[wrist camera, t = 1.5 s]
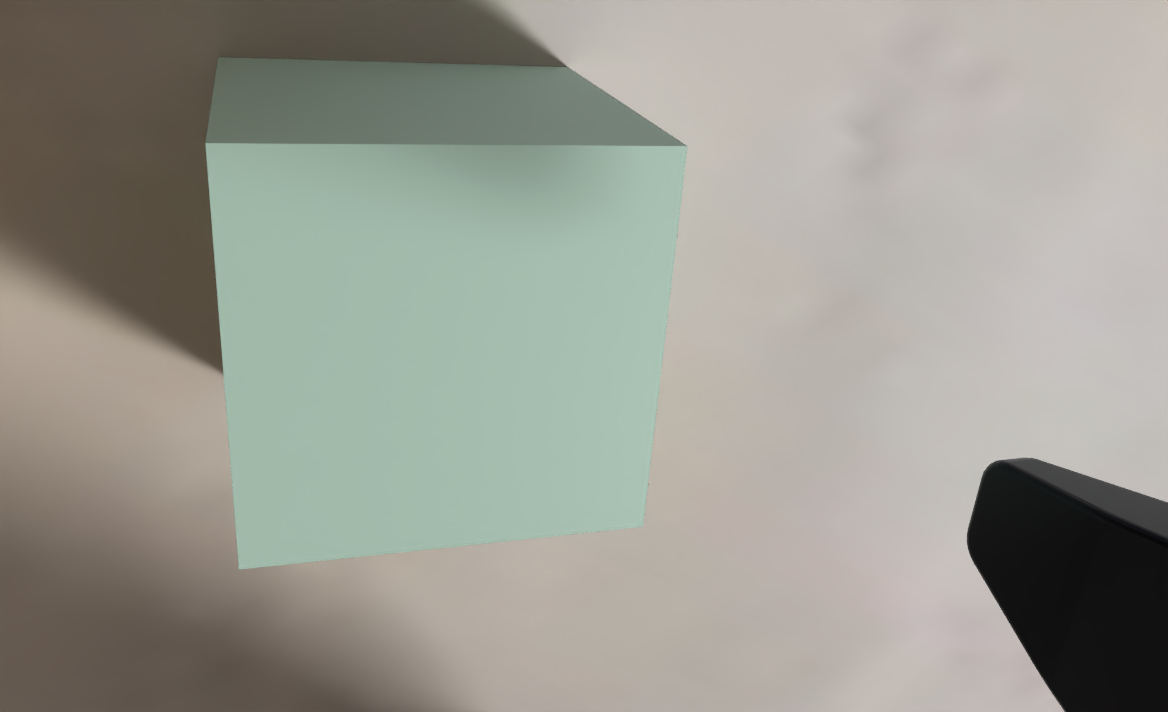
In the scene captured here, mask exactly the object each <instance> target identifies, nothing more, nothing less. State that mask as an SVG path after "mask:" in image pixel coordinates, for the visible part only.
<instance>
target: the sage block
mask: <svg viewBox="0 0 1168 712" xmlns="http://www.w3.org/2000/svg"><path fill="white" fill-rule="evenodd" d="M205 145H206V158H207V171H208V184H209V196H210V209H211V222H212V234H213V247H214V260H215V273H216V285H217V298H218V311H219V324H220V336H221V349H222V362H223V375H224V387H225V400H226V413H227V426H228V438H229V451H230V464H231V476H232V489H233V502H234V515H235V527H236V540H237V553H238V566H239V569H249V568H258V567H268V566H277V565H287V564H296V563H305V562H315V561H324V560H334V559H343V558H353V557H362V556H372V555H381V554H390V553H400V552H409V551H419V550H428V549H438V548H447V547H457V546H466V545H475V544H485V543H494V542H504V541H513V540H523V539H532V538H541V537H551V536H560V535H570V534H579V533H589V532H598V531H608V530H617V529H626V528H636V527H643V522H644V513H645V505H646V496H647V488H648V479H649V471H650V462H651V453H652V445H653V436H654V428H655V419H656V411H657V402H658V394H659V385H660V376H661V368H662V359H663V351H664V342H665V334H666V325H667V317H668V308H669V299H670V291H671V282H672V274H673V265H674V257H675V248H676V240H677V231H678V222H679V214H680V205H681V197H682V188H683V180H684V171H685V162H686V154H687V146H686V145H685V144H683V143H682V142H680V141H679V140H677V139H676V138H674V137H673V136H671V135H670V134H668V133H667V132H665V131H664V130H662V129H661V128H659V127H658V126H656V125H655V124H653V123H652V122H650V121H649V120H647V119H646V118H644V117H643V116H641V115H640V114H638V113H637V112H635V111H634V110H632V109H631V108H629V107H627V106H626V105H624V104H623V103H621V102H620V101H618V100H617V99H615V98H614V97H612V96H611V95H609V94H608V93H606V92H605V91H603V90H602V89H600V88H599V87H597V86H596V85H594V84H593V83H591V82H590V81H588V80H587V79H585V78H584V77H582V76H581V75H579V74H578V73H576V72H575V71H573V70H572V69H570V68H569V67H547V66H512V65H477V64H442V63H406V62H371V61H336V60H301V59H266V58H230V57H218V62H217V68H216V75H215V82H214V88H213V95H212V102H211V109H210V115H209V122H208V129H207V135H206V142H205Z"/></svg>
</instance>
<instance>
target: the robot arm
mask: <svg viewBox="0 0 1168 712" xmlns="http://www.w3.org/2000/svg"><path fill="white" fill-rule="evenodd" d="M967 545H968V550H969V553H970V556H971V558H972V560H973V562H974V564H975V566H976V567H977V569H978V571H979V572H980V574H981V576H982V577H983V579H984V581H985V583H986V584H987V586H988V588H989V589H990V591H991V593H992V594H993V596H994V598H995V599H996V601H997V603H998V605H999V606H1000V608H1001V610H1002V611H1003V613H1004V615H1005V616H1006V618H1007V620H1008V621H1009V623H1010V625H1011V626H1012V628H1013V630H1014V632H1015V633H1016V635H1017V637H1018V638H1019V640H1020V642H1021V643H1022V645H1023V647H1024V648H1025V650H1026V652H1027V654H1028V655H1029V657H1030V659H1031V660H1032V662H1033V664H1034V665H1035V667H1036V669H1037V670H1038V672H1039V673H1040V675H1041V677H1042V678H1043V680H1044V681H1045V683H1046V685H1047V686H1048V688H1049V689H1050V691H1051V692H1052V694H1053V695H1054V697H1055V698H1056V700H1057V701H1058V702H1059V704H1060V705H1061V707H1062V708H1063V710H1064V711H1065V712H1168V502H1165V501H1162V500H1158V499H1155V498H1152V497H1149V496H1146V495H1143V494H1140V493H1137V492H1134V491H1131V490H1128V489H1125V488H1122V487H1119V486H1116V485H1113V484H1110V483H1107V482H1104V481H1101V480H1098V479H1095V478H1092V477H1089V476H1086V475H1083V474H1080V473H1077V472H1074V471H1071V470H1068V469H1065V468H1062V467H1059V466H1056V465H1053V464H1050V463H1047V462H1044V461H1041V460H1038V459H1034V458H1017V459H1007V460H999V461H995V462H993V463H991V464H990V465H989V466H988V467H987V468H986V470H985V471H984V473H983V476H982V479H981V482H980V486H979V490H978V493H977V497H976V501H975V505H974V508H973V512H972V516H971V520H970V523H969V527H968V532H967Z"/></svg>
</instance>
